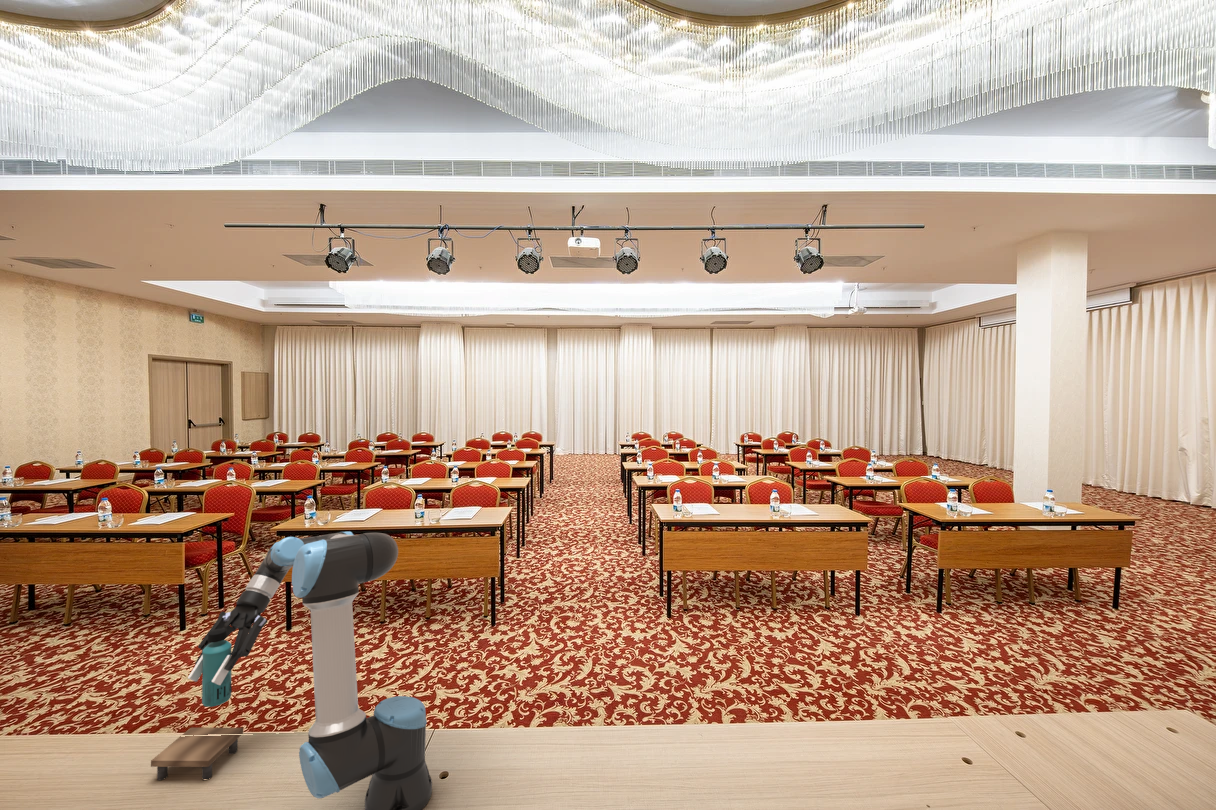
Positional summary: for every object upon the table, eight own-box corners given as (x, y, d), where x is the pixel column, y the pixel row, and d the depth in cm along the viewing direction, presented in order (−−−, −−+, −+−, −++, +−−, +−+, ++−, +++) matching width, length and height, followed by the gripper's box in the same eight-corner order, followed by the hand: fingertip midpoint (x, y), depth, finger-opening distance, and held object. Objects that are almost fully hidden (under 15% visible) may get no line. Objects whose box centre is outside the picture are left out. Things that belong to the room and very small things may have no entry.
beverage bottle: (215, 714, 134) (216, 638, 133) (194, 710, 135) (195, 634, 135) (238, 700, 140) (239, 627, 140) (218, 696, 142) (218, 623, 141)
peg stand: (242, 747, 143) (243, 727, 143) (208, 782, 130) (208, 760, 130) (190, 747, 143) (190, 727, 143) (150, 782, 130) (150, 760, 130)
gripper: (294, 603, 151) (245, 690, 135) (236, 597, 154) (182, 681, 138) (280, 592, 145) (227, 681, 130) (220, 585, 149) (161, 672, 133)
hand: (204, 681), depth 134 cm, fingers closed on beverage bottle, 6 cm apart
